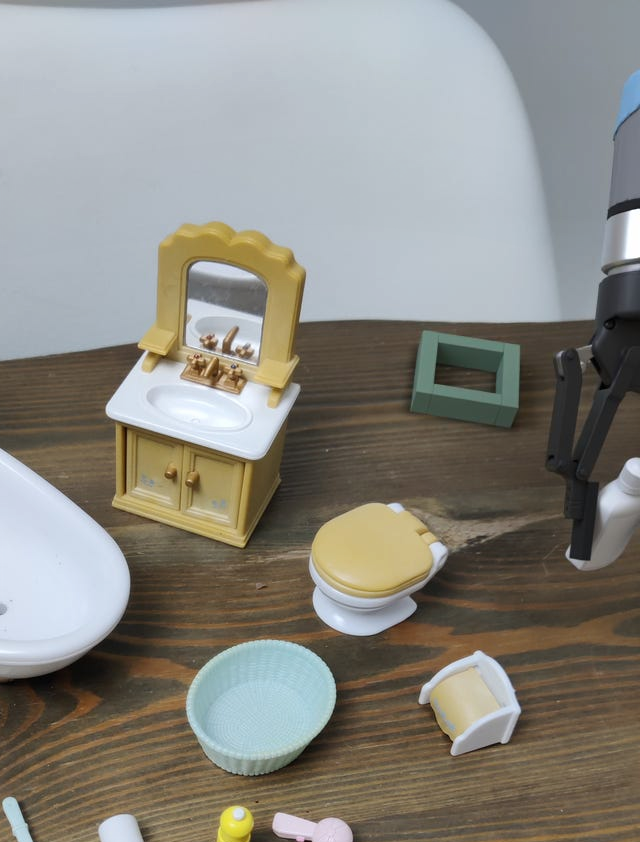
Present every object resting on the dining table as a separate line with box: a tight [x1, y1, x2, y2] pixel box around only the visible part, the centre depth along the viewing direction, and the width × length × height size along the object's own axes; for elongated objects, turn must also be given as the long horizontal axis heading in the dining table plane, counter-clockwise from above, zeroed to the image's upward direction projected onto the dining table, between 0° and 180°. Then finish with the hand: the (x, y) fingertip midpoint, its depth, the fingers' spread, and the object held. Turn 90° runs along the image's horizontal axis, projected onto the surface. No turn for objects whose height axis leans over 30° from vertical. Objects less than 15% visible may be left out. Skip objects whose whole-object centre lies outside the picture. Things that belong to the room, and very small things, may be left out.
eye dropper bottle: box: [565, 457, 640, 572], centre depth 83 cm, size 4×6×12 cm
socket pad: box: [409, 329, 521, 429], centre depth 111 cm, size 11×11×4 cm
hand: (616, 560), depth 83 cm, fingers closed on eye dropper bottle, 5 cm apart
